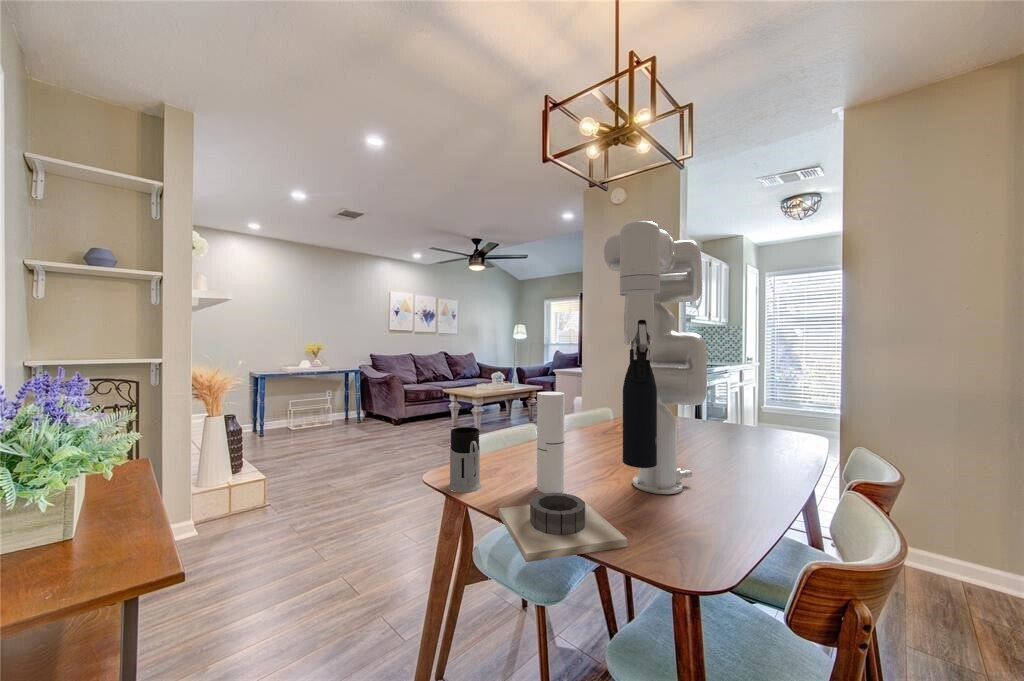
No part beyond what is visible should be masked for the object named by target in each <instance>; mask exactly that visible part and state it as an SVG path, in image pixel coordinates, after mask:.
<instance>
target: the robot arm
mask: <svg viewBox="0 0 1024 681" xmlns="http://www.w3.org/2000/svg"><path fill="white" fill-rule="evenodd" d="M674 240H675V239H674V238H673V237H671V235H670V234H669V233H668V232H667V231H666V230H663V229H661V228H660V227H659V225H658V224H657V223H655V221H654V222H653V221H648V220H639V221H632V222H629V223H626V224H625V225H623V226H622V228H620V232H619V234H614V235H611V236H610V237H608V238H607V240H606V241H605V243H604V247H603V258H604V262H605V264H606V266H607V267H608V269H610V270H611V271H613V272H614V271H615V272H619V296H621V297H624V310H623V311H624V313H623V314H624V315H623V319H624V320H623V321H624V322H623V326H624V327H623V330H624V331H623V343H624V344H625V345H630V349H632V347H631V345H632V343H631V342H632V341H633V353H634V360H632V380H633V381H634V382H649V381H650V365H651V368H652V371H653V374H654V377H655V382H656V388H657V465H656V466H655V467H652V468H638V475H635V476H633V477H632V484H633V486H634V487H635V488H637V489H639V490H640V491H644V492H646V493H651V494H656V495H674V494H677V493H681V492H682V491H683V489H684V485H683V484H684V483H682V482H681V480H682V479H688V478H689V479H690V478H692V477H693V472H692V470H689V469H687V470H682V469H681V468H677V459H678V458H677V456H678V455H677V449H678V448H677V443H678V442H677V441H678V440H677V419H676V418H675V415H674V414H673V413H672V411H671V410H670V409H669V407H668V406H667V405H678V406H680V405H681V406H700V405H702V404H704V402H705V401H706V399H707V394H708V393H707V392H708V373H707V370H708V369H707V368H708V361H707V360H708V359H707V358H708V357H707V345H706V344H707V343H706V341H705V339H704V337H703V336H702V335H701V334H700V333H695V332H678V320H677V317H676V316H675V315H674V314H673V313H672V312H671V311H670V310H669V309H668V308H667V307H665V306H664V305H663V304H668V303H669V304H670V303H672V304H673V303H692V302H695V301H697V300H699V299H700V297H701V296H702V293H703V292H702V291H703V264H702V253H701V249H700V246H699V245H698V244H697V242H696V241H694V240H691V239H688V240H687V239H685V240H677V241H676V240H675V241H674ZM638 341H639V343H636V342H638ZM649 350H650V360H649Z"/></svg>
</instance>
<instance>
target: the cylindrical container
mask: <svg viewBox="0 0 1024 681" xmlns="http://www.w3.org/2000/svg"><path fill="white" fill-rule="evenodd" d="M565 398H566V396H565V392H562V391H561V392H560V391H539V392H536V401H537V402H536V419H537V421H536V477H537V478H536V489H537V491H538V492H540V493H541V494H545V493H562V492H564V491H565V427H566V426H565V424H566V423H565V413H566V412H565V411H566V410H565Z"/></svg>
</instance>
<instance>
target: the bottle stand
mask: <svg viewBox="0 0 1024 681" xmlns="http://www.w3.org/2000/svg"><path fill="white" fill-rule="evenodd" d="M498 516H499V519H500V520H501V522H502V523H503V525H504V526H505V529H506V530H507V532H508V533H509V535H510V537H511V538H512V540H513V542H514V544H515V546H516V548H517V549H518V552H520V554H521V556H522V558H523V559H524V561H525V563H530V562H536V561H543V560H550V559H556V558H562V557H568V556H569V557H570V556H576V555H581V554H588V553H595V552H602V551H607V550H614V549H615V550H616V549H621V548H626V547H628V538H627V537H626V536H625V535H623V533H621V532H620V531H619V530H618V529H616V528H615V527H614V526H613V525H612V524H611V523H610V522H609V521H607V520H606V519H605V518H604V516H602V515H600V514H599V512H597V511H596V510H595V509H594V508H592V507H591V506H590V505H589V504H588V503H586V502H585V501H584V500H583V499H582V498H581V497H579V496H576V495H573V494H569V493H562V492H561V493H541V494H540V493H539V494H538V495H535V496H533V498H532V499H531V500H530V502H529V504H526V505H525V504H524V505H518V506H516V505H515V506H509V507H507V506H506V507H499V508H498Z"/></svg>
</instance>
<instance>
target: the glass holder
mask: <svg viewBox="0 0 1024 681" xmlns="http://www.w3.org/2000/svg"><path fill="white" fill-rule="evenodd" d="M480 455H481V447H480V429H479V428H477V427H473V426H472V427H471V426H467V427H466V426H462V427H460V426H459V427H456V428H452V429H451V430H450V448H449V472H450V474H449V484H448V487H449V488H448V490H449V489H450V491H451V490H453V491H452V492H454V491H456V492H455V493H459V492H460V494H461V493H463V494H465V492H467V493H473V492H476V491H478V489H479V490H480V489H481V488H482V484H481V480H480V479H481V475H480V472H481V471H480V470H481V469H480V468H481V463H480V461H481V456H480ZM472 491H473V492H472Z"/></svg>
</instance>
